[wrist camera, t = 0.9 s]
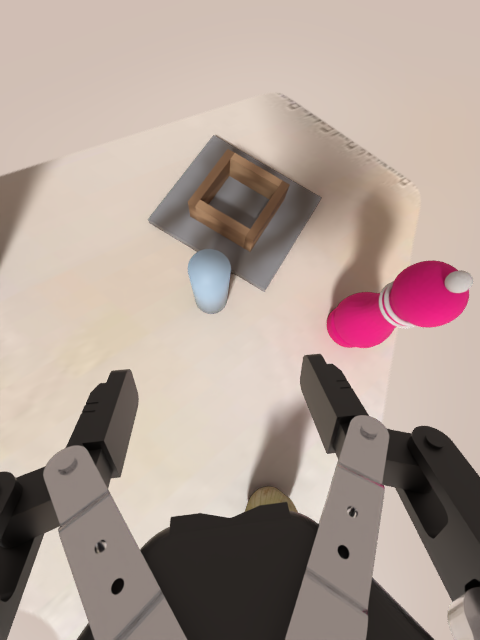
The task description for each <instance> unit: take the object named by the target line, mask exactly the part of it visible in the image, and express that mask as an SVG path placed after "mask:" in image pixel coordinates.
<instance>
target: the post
mask: <svg viewBox="0 0 480 640" xmlns="http://www.w3.org/2000/svg"><path fill="white" fill-rule="evenodd" d="M188 274H189V278H190V282H191V285H192V289H193V293H194V297H195V300H196V304H197V306H198V307H199V309H200V310H202V311H203V312H205V313H208V314H214V313H218V312H220V311H221V310H222V309H223V308H224V307H225V305H226V302H227V296H228V289H229V281H230V274H231V265H230V262H229V260H228V258H227V257H226V256H225V255H224V254H223V253H221V252H220V251H217V250H214V249H204V250H201V251H199V252H197V253H196V254H194V255H193V256H192V258H191V259H190V261H189V264H188Z"/></svg>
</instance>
